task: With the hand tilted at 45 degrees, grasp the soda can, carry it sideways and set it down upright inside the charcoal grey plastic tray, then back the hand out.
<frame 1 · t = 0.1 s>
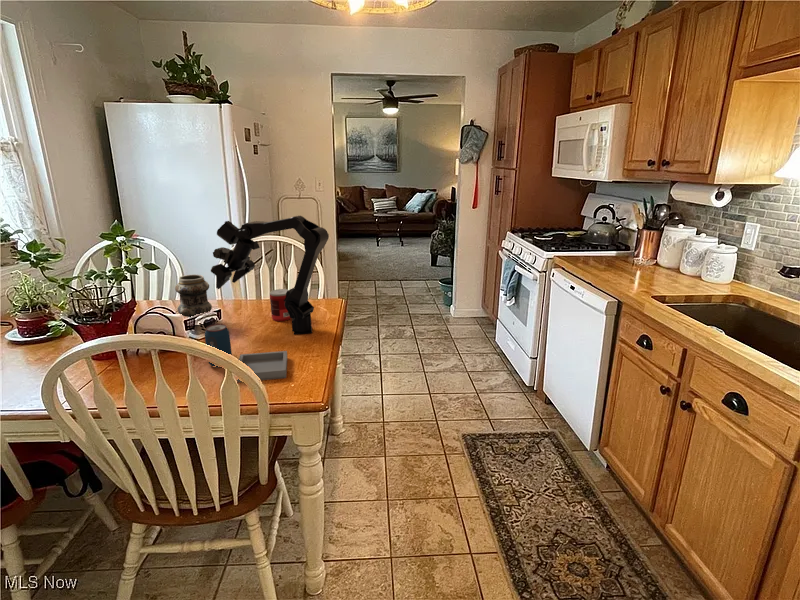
hand: (225, 285, 170), 15 cm above the table, tool tilted 35°, fingers open, 9 cm apart
canned food: (282, 318, 179), on the table
tray: (262, 369, 136), on the table
apothecary jar: (196, 322, 175), on the table
soda can: (220, 364, 140), on the table
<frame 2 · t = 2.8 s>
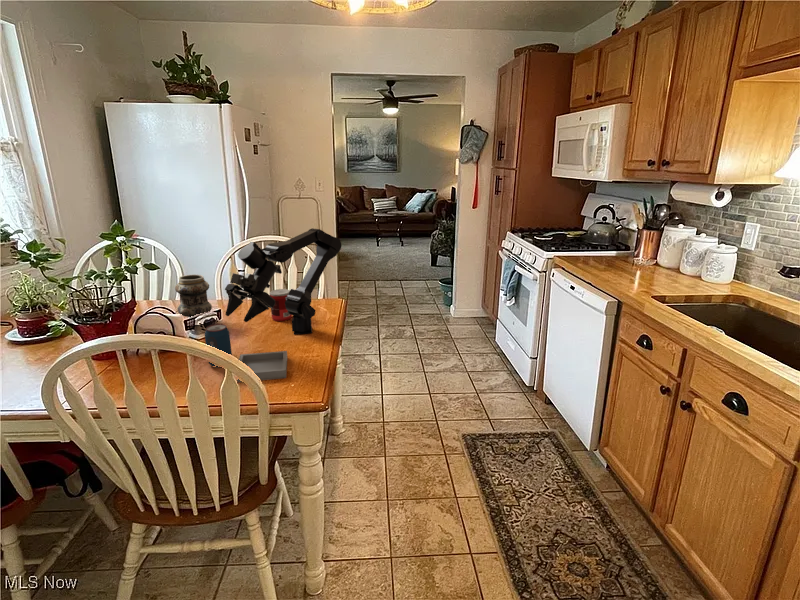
hand: (235, 318, 141), 13 cm above the table, tool tilted 45°, fingers open, 9 cm apart
nothing on the table moved.
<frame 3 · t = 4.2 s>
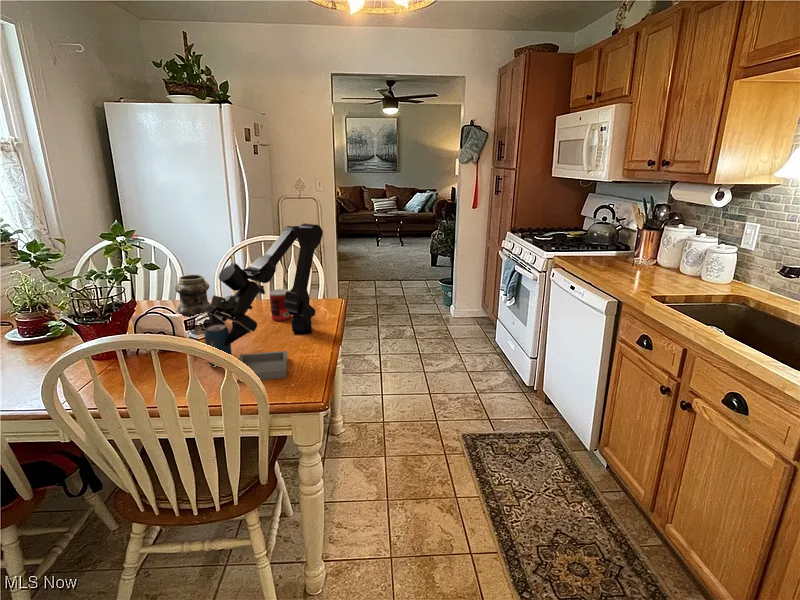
hand: (216, 341, 137), 7 cm above the table, tool tilted 45°, fingers open, 9 cm apart
nothing on the table moved.
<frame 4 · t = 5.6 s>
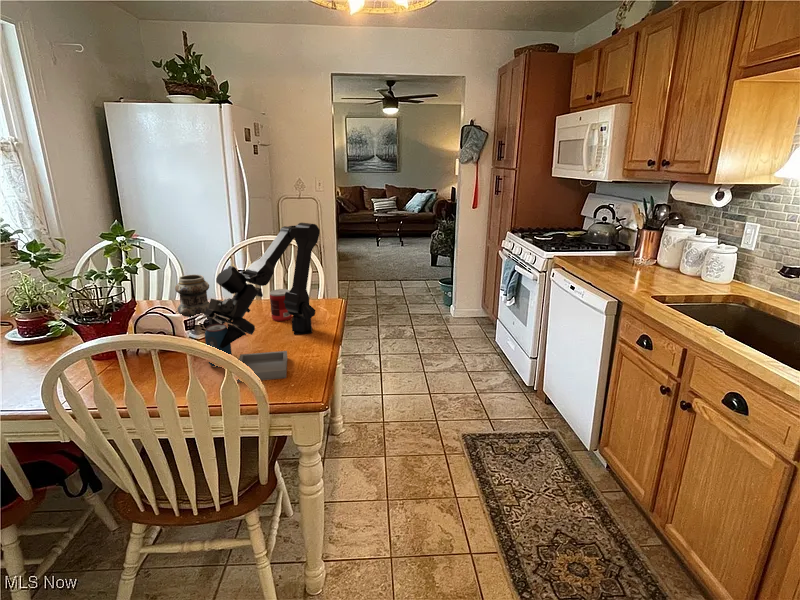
hand: (213, 345, 137), 7 cm above the table, tool tilted 45°, fingers closed on soda can, 7 cm apart
soda can: (220, 364, 140), on the table, touching gripper
everything else where it was.
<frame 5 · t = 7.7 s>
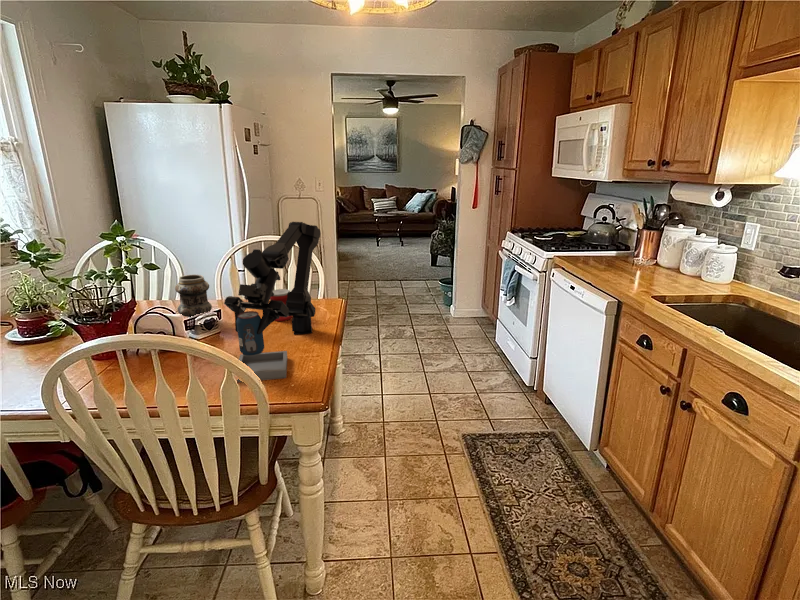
hand: (247, 332, 131), 12 cm above the table, tool tilted 45°, fingers closed on soda can, 7 cm apart
soda can: (252, 353, 134), point 5 cm above the table, touching gripper
everything else where it was.
when the fingers open (8 cm above the table, at t = 9.8 s): soda can stays where it is, resting on tray.
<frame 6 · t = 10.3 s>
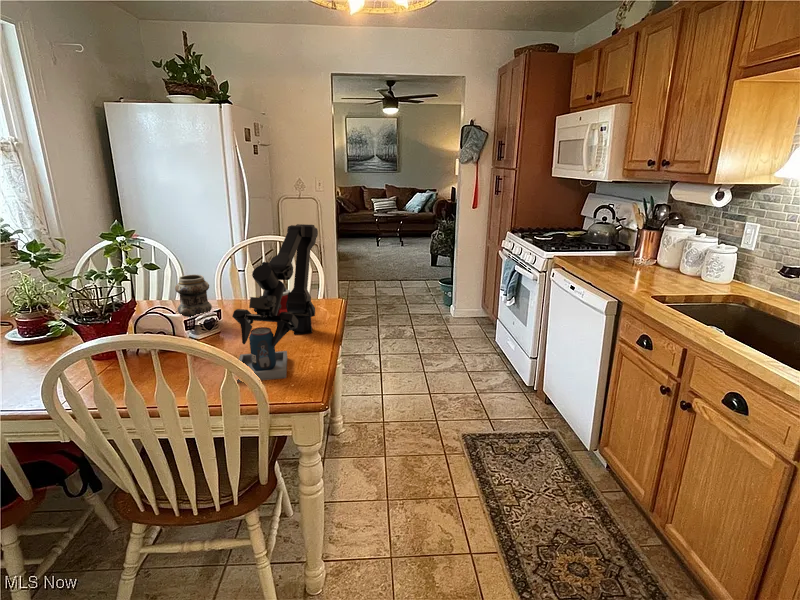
hand: (258, 345, 132), 9 cm above the table, tool tilted 45°, fingers open, 9 cm apart
soda can: (264, 368, 136), resting on tray
everything else where it was.
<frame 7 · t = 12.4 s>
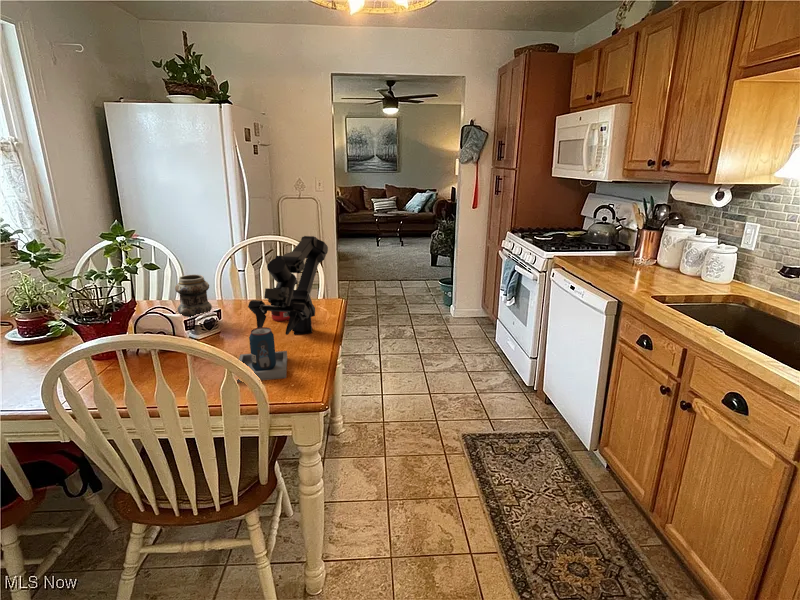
hand: (272, 333, 141), 9 cm above the table, tool tilted 45°, fingers open, 9 cm apart
nothing on the table moved.
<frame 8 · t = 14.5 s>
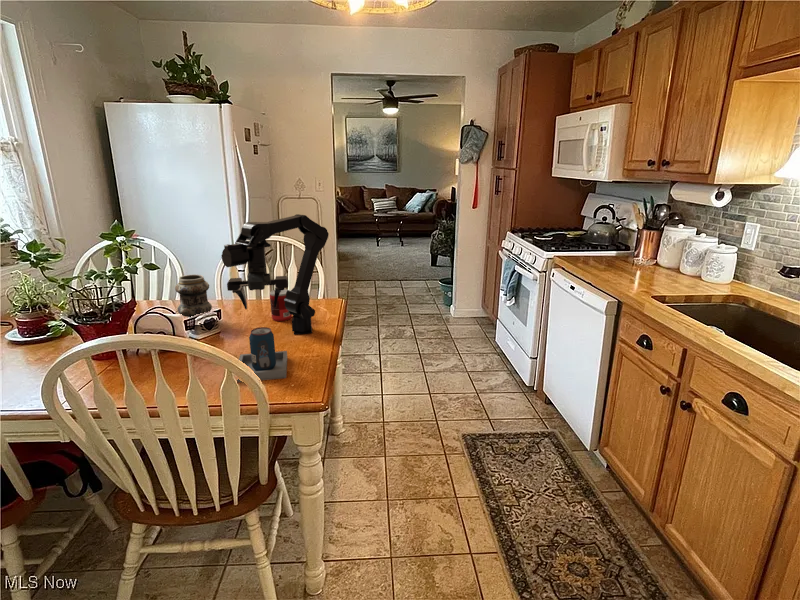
hand: (260, 308, 150), 13 cm above the table, tool pointing down, fingers open, 9 cm apart
nothing on the table moved.
at the end: soda can inside the target area on the tray (0.5 cm from its centre), point 0.3 cm above the tray's base; soda can tilted 0°; the gripper is holding nothing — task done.
